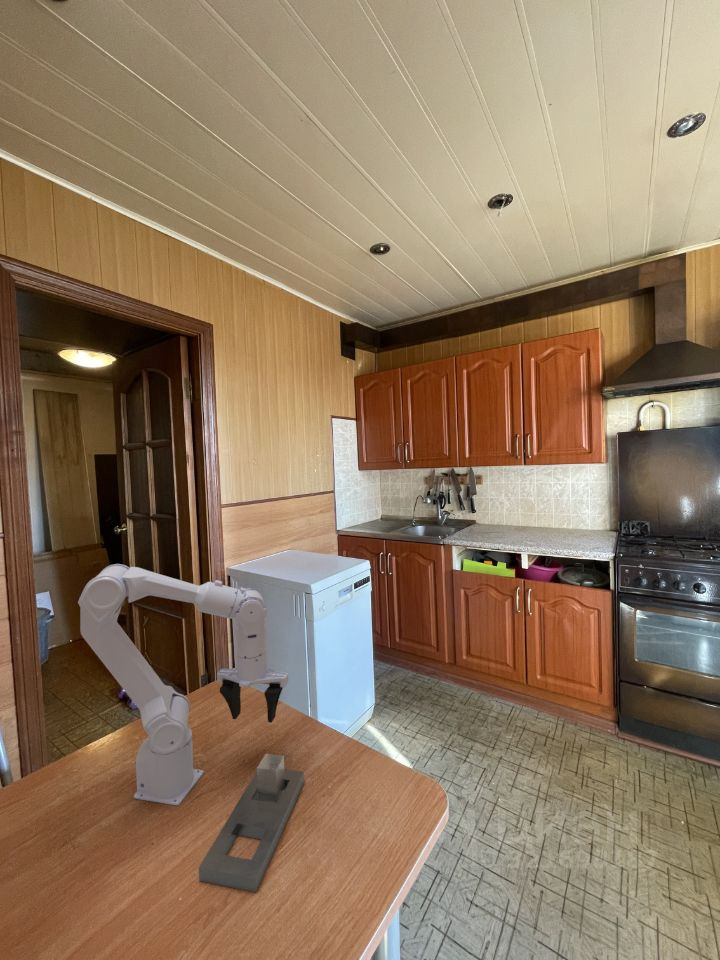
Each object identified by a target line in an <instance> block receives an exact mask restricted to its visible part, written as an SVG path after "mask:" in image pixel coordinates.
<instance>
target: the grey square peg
mask: <svg viewBox="0 0 720 960" xmlns="http://www.w3.org/2000/svg"><path fill="white" fill-rule="evenodd" d="M284 769H285V755H281V754H272V753H265V754H264V756H263V757H262V759H261V761H260V762H259V763H258V765H257V767H256V772H257V781H258V799H257V800H259V801H265V802H272V803H278V804H279V802H280V800H281V797H282V795H283V793H284V791H285V771H284Z"/></svg>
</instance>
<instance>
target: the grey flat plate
mask: <svg viewBox="0 0 720 960" xmlns="http://www.w3.org/2000/svg"><path fill="white" fill-rule="evenodd" d="M284 771H285V791H284V793H283V795H282V797H281V800H280V802H279V804H278V803H272V802H265V801H259V800H258V781H257V771H255V773H254V775H253V777H252V779H251V780H250V782H249V784H248V785H247V787H246V789H245V790H244V792H243V793H242V795H241V797H240V799H239V800H238V802H237V803H236V804H235V807H234V809H233V810H232V811H231V813H230V815H229V816H228V818H227V820H226V822H225V823H224V826H223V827H222V828H221V830H220V832H219V833H218V834H217V837H216V838H215V840H214V841H213V843H212V844H211V846H210V848H209V849H208V852H207V853H206V855H205V856H204V859H203V860H202V862H201V863H200V865H199V866H198V881H199V882H203V883H206V884H212V885H218V886H222V887H226V888H227V887H228V888H233V889H236V890H242V891H247V892H251V893H257V892H258V890H259V888H260V885H261V883H262V880H263V878H264V876H265V874H266V871H267V869H268V867H269V864H270V863H271V859H272V858H273V855H274V852H275V850H276V848H277V846H278V844H279V842H280V839H281V837H282V834H283V832H284V830H285V827H286V825H287V823H288V820H289V818H290V816H291V814H292V811H293V809H294V807H295V804H296V803H297V799H298V797H299V795H300V793H301V791H302V788H303V786H304V783H305V771H301V770H295V769H287V768H284ZM239 836H240V837H245V838H249V839H250V838H251V839H257V840H260V841H259V843H258V845H257V847H256V850H255V852H254V854H253V856H252V858H251V859H249V858H242V857H238V856H232V855H228V853H229V851H230V850H231V848H232V846H233V845H234V843H235V841H236V840H237V837H239Z"/></svg>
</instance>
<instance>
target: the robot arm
mask: <svg viewBox="0 0 720 960" xmlns="http://www.w3.org/2000/svg"><path fill="white" fill-rule="evenodd" d="M148 596H152V597H157V598H163V599H169V600H173V601H174V600H175V601H180V602H185V603H190V604H193V605H194V607H195V608H196V610H197V612H200V613H204V614H208V615H213V616H217V617H222V618H225V619H236V624H237V625H236V626H237V627H236V628H237V629H236V632H235V633H236V636H235V637H236V662H237V663H236V664H237V665H236V666H237V667H234V668H233V667H232V668H221V669H220V670H219V671H218V672H217V674H216V678H217V679H216V680H217V683H219V684H221V686H220V687H219V693H220V694H221V696H222V697H223V698H224V700H225V701H226V703H227V706H228V708H229V711H230V714H231V718H232V719H233V720H237V719H238V717H239V716H240V714H241V713H242V712H241V710H242V708H241V707H242V705H241V703H242V702H241V690H242V688H249V687H250V686H252V685H253V686H254V685H268V687H267V688H266V689H265V691H264V692H263V693H264V698H265V702H266V709H267V711H266V712H267V722H268V723H273V722H274V720H275V718H276V714H277V713H276V712H277V707H278V703H279V699H280V697H281V695H282V691H283V689H284V688H286V687H287V685H288V684H289V672H283V671H282V672H281V671H280V670H279V671H278V670H275V669H271V668H268V665H267V639H266V637H267V635H266V634H267V633H266V631H267V630H266V626H265V623H266V621H265V619H266V617H267V614H268V609H267V606H266V603H265V601H264V598H263V596H262V595H261V593H260V592H259V591H257V590H255V589H254V588H252V587H251V588H250V587H249V588H245V587H240V588H235V587H231V586H228V585H223V581H221V580H218V579H216V580H214V582H213V581H207V582H204V583H203V584H201V585H198V584H194V583H191V582H187V581H184V580H181V579H178V578H173V577H170V576H167V575H163V574H160V573H158V572H154V571H151V570H147V569H145V568H141V567H139V566H138V567H137V566H130V567H129V566H128V565H125V564H120V563H115V564H110V565H108V566H106V567H105V568H103V569H102V570H101V571H100V572H99V574H97V575H96V576H95V577H93V578H92V579H91V580H89V581H88V582H87V583H86V585H85V586H84V588H83V590H82V592H81V595H80V596H79V599H78V601H77V604H78V605H79V607H80V610H79V611H80V616H79V617H80V621H79V622H80V624H79V625H80V628H79V629H80V635H81V636H82V638H83V639H84V640H85V642H86V643H87V644H88V646H89V647H90V648H91V650H92V651H93V652H94V654H95V655H96V656H97V657H98V659H99V660H100V661H101V663H103V665H104V666H105V668H106V669H107V670H108V671H109V673H110V674H111V676H113V678H114V679H115V680H116V681H117V683H118V685H119V686H121V688H122V689H123V691H124V692H125V693H126V694H127V696H128V697H129V699H130V700H131V701H132V702H133V703H134V704H135V706H136V708H138V710H139V713H140V718H141V724H142V728H143V729H144V730H145V732H146V734H147V736H148V737H146V738H145V739H144V740H143V742H142V743H141V745H140V746H139V749H138V751H137V754H136V759H135V774H136V775H135V776H136V792H135V793H134V794H133V799H135V800H141V801H147V802H153V803H158V804H165V805H171V806H179V805H180V804H181V803H182V801H183V800H184V799H185V798H186V797H187V795H188V794H189V793H190V792H191V790H192V789H193V787H195V785H196V784H197V783H198V781H199V779H201V777H202V776H203V774H204V770H202V769H198V768H194V752H193V747H194V746H193V731H192V728H190V726H189V725H188V721H189V714H190V710H191V703H190V701H189V698H188V697H187V696H185V695H184V694H182V693H179V692H177V691H176V690H175V689H174V688H173V686H171V685H165V684H164V682H163V681H162V680H161V678H160V677H159V675H158V674H157V673H156V671H154V669H153V667H152V666H151V665H150V664H149V663H148V660H147V659H145V657H144V656H143V655H142V653H141V651H140V650H139V649H138V648H137V647H136V645H135V644H134V642H133V641H132V640H131V639H130V637H129V636H128V635H127V633H126V632H125V631H124V629H123V628H122V626H121V625H120V624H119V623H118V617H119V615H120V612H121V609H122V606H123V602H124V600H126V597H128V604H129V603H133V602H135V601H138V600H140V599H143V598H145V597H148Z"/></svg>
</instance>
